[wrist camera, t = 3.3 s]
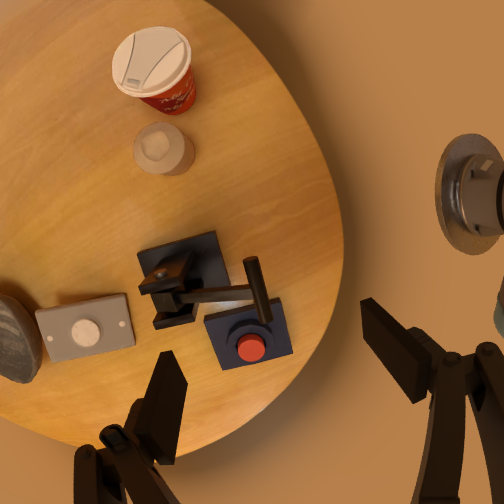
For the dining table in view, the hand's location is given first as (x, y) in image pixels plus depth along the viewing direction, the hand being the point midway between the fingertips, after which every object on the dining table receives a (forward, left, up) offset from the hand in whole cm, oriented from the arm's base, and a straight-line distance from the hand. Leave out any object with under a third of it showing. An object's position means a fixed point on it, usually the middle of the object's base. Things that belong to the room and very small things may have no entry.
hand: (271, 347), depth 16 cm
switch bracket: (+9, 0, -23) cm, 25 cm away
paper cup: (+4, -23, -23) cm, 33 cm away
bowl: (+45, +2, -23) cm, 51 cm away
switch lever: (+4, 0, -12) cm, 13 cm away
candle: (+6, -15, -23) cm, 28 cm away
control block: (+3, +12, -23) cm, 26 cm away
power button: (+3, +12, -20) cm, 23 cm away
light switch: (+26, +4, -23) cm, 35 cm away
